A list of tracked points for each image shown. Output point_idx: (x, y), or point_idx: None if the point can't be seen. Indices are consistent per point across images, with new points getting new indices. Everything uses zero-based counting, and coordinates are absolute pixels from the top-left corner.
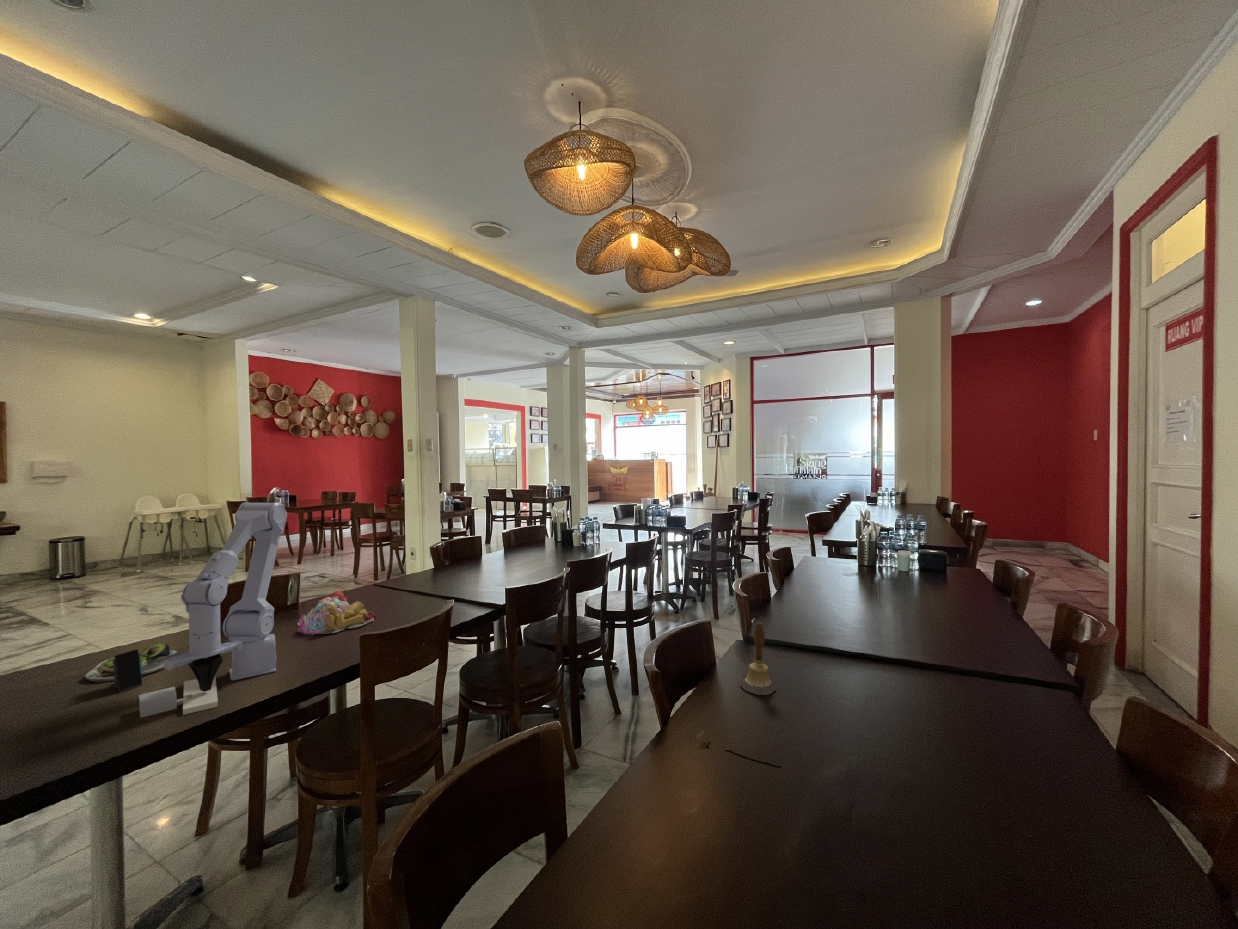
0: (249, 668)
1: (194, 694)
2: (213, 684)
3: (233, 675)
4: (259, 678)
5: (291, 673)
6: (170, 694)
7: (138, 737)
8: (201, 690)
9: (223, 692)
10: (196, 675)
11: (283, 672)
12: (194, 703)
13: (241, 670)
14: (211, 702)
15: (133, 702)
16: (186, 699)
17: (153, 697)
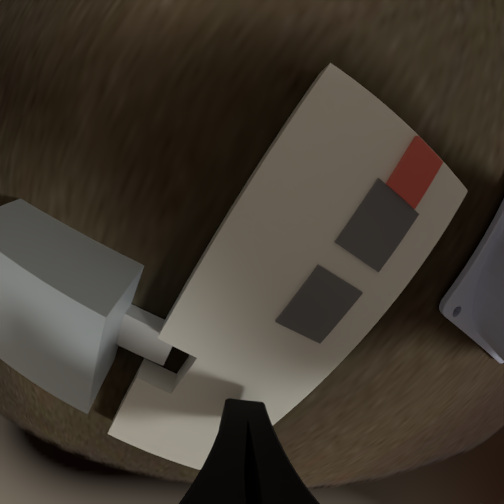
0: (496, 352)
1: (200, 376)
2: (348, 340)
3: (480, 271)
4: (457, 368)
5: (475, 403)
6: (63, 396)
7: (17, 400)
8: (223, 410)
9: (319, 388)
10: (200, 481)
11: (489, 379)
12: (151, 436)
13: (490, 329)
14: (192, 466)
15: (52, 54)
16: (147, 387)
17: (3, 344)
